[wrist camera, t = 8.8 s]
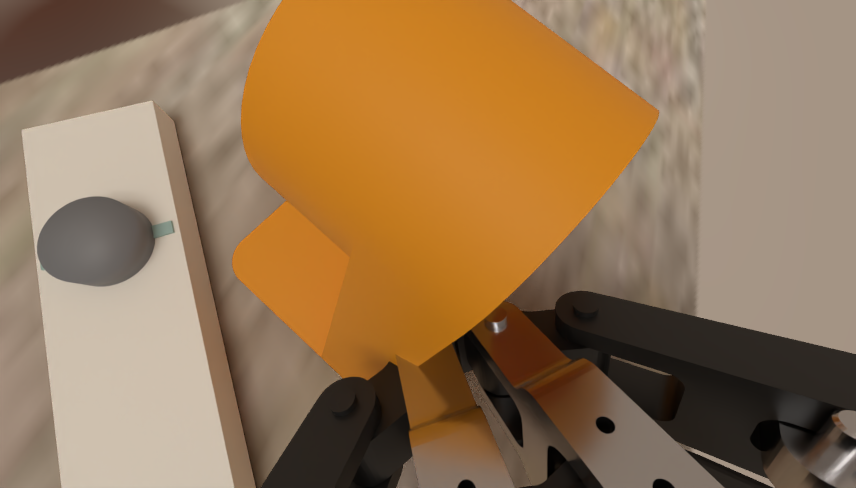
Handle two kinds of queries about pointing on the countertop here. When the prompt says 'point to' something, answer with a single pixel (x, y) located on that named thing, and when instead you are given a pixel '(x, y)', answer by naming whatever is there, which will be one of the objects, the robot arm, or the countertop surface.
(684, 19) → the countertop surface
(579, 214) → the bracket
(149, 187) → the board
